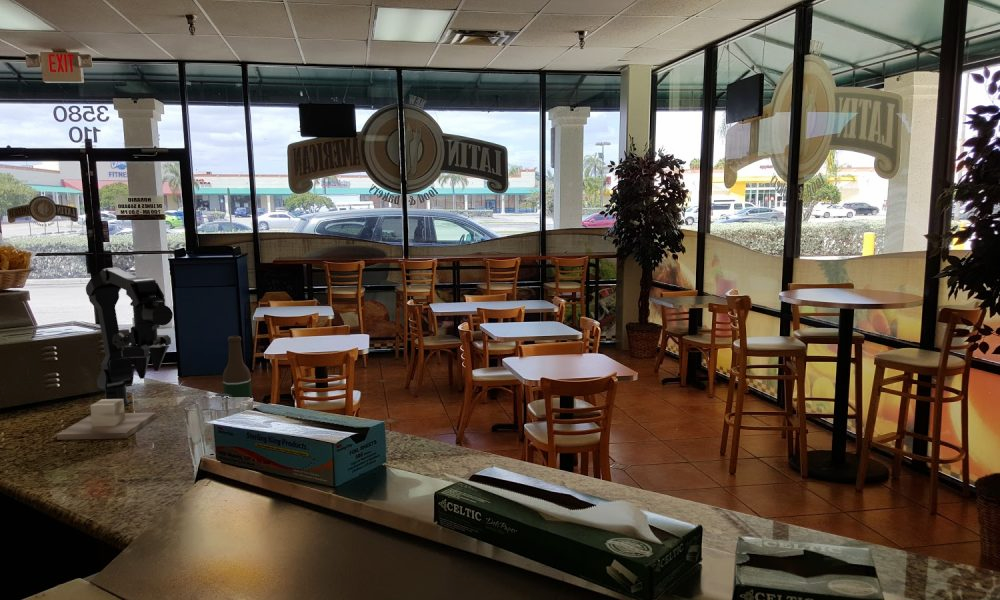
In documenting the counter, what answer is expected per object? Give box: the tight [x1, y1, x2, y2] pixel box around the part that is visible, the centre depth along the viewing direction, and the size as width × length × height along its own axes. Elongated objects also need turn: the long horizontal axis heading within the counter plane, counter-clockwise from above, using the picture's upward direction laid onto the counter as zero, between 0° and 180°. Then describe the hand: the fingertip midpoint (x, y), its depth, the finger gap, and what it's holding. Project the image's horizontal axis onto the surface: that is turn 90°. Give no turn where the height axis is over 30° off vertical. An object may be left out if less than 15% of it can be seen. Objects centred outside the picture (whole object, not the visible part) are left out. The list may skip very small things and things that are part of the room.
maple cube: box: [90, 398, 126, 426], centre depth 190 cm, size 6×6×6 cm
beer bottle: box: [222, 335, 253, 399], centre depth 200 cm, size 8×8×24 cm
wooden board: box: [56, 412, 157, 441], centre depth 191 cm, size 18×18×2 cm
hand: (149, 374), depth 199 cm, fingers open, 9 cm apart
